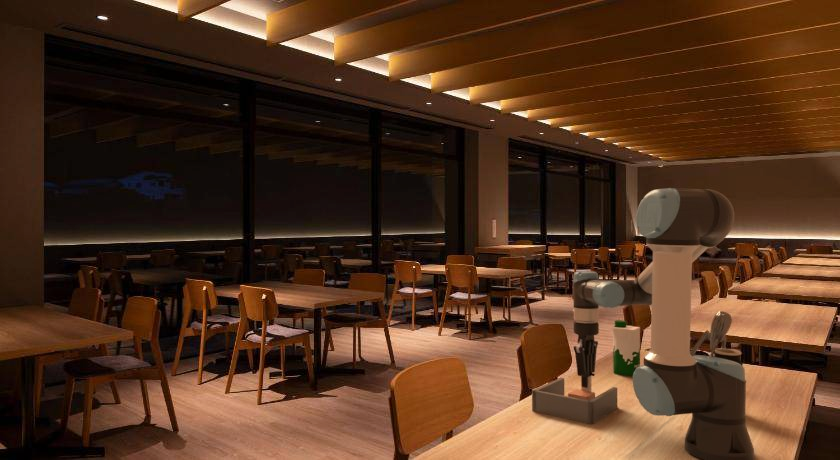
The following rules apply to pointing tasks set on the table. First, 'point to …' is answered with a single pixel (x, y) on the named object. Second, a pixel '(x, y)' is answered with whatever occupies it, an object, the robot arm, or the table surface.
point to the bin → (572, 403)
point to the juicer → (716, 332)
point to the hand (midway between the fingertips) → (586, 396)
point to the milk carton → (625, 348)
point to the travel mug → (728, 354)
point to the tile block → (582, 394)
